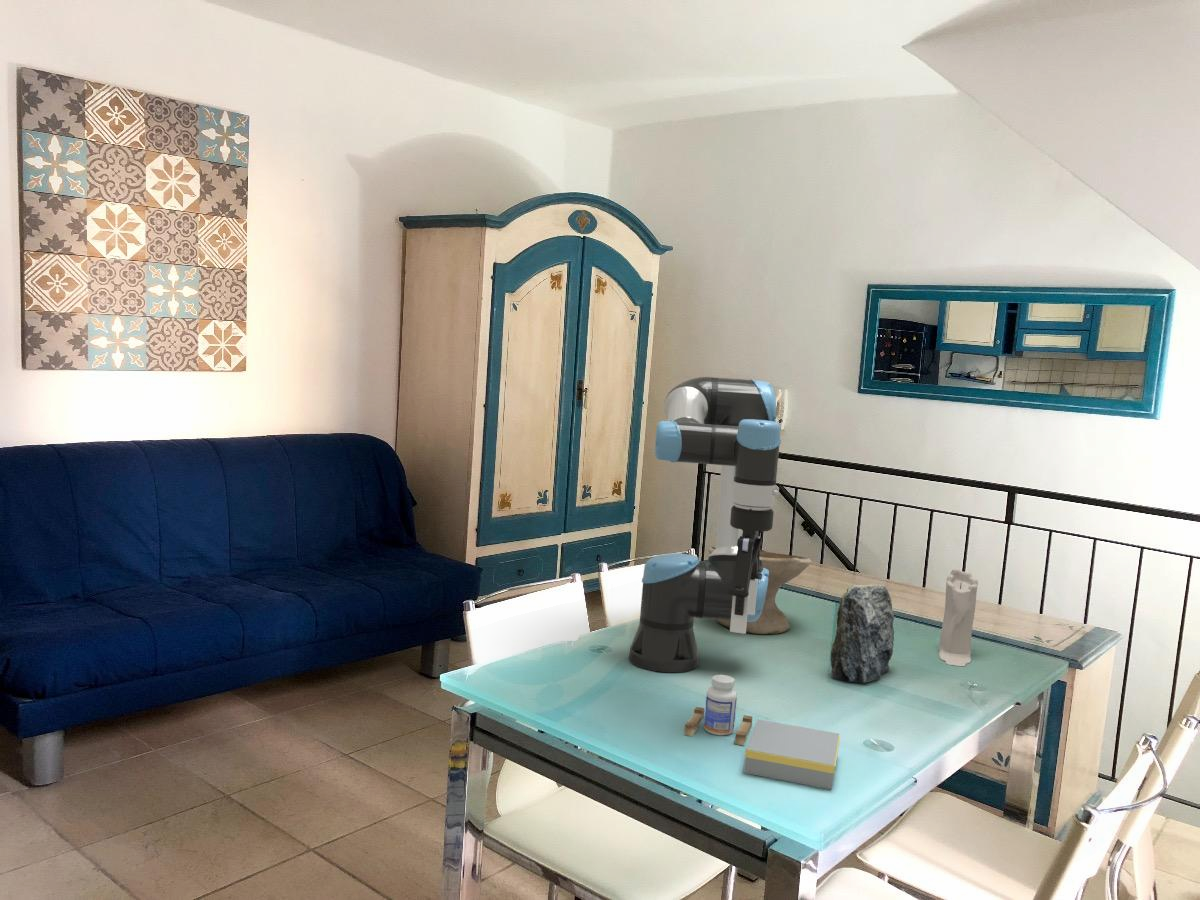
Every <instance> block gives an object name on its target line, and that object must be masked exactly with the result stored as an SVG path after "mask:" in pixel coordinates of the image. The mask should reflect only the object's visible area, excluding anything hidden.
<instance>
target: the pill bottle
mask: <svg viewBox="0 0 1200 900" xmlns="http://www.w3.org/2000/svg"><path fill="white" fill-rule="evenodd" d="M710 683H711V686H710V687H708V689H707V691H706V698H705V699H706V700H705V708H704V722H703V727H704V728H703V729H704V730H705V731H706V732H708V733H710V734H712V735H716V736H729V735H731V734H733V732H734V730H735V722H736V720H735V719H736V710H737V709H736V708H737V700H738V699H737V697H738V695H737V692H736V690H734V687H735V678H734V677H732V676H730V675H726V674H716V675H713V676H712V678H711V681H710Z"/></svg>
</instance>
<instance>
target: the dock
mask: <svg viewBox="0 0 1200 900" xmlns="http://www.w3.org/2000/svg"><path fill="white" fill-rule="evenodd" d="M840 738H841V734H840V733H838V732H832V731H828V730H827V731H826V730H821V729H815V728H809V727H803V726H800V725H799V726H798V725H792V724H787V723H780V722H775V721H768V720H763V719H759V718H758V719H757V721H756V723H755V726H754V728H753V731H752V733H751V736H750V737H749V741H748V743H747V747H746V749H745V753H744V758H745V759H744V770H743V773H744V774H749V775H754V776H759V777H764V778H769V779H775V780H781V781H786V782H791V783H797V784H802V785H805V786H811V787H817V788H822V789H827V790H833V783H834V777H835V771H836V766H837V765H836V764H837V759H838V752H839V746H840Z"/></svg>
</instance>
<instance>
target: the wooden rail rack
mask: <svg viewBox="0 0 1200 900" xmlns="http://www.w3.org/2000/svg"><path fill="white" fill-rule="evenodd" d="M704 718H705V708H704V707H700V706H695V707H694V709H693V714H692V715H691V716H690V719H689V720H688V721H686V722H685V726H684V731H683V732H684V733H683V734H684V735H683V736H687V737H688V736H689V737H694V736H695V733H696V732H697V730H698V728H699V727H700V725H701V722H702V721H703V719H704ZM752 726H753V716H751V715H746V714H744V715H742V720H741V723H740V726H739V728H738V730H736V732H735V738H734V745H738V746H745V744H746V741H747V738H748V736H749V734H750V732H751V729H752Z"/></svg>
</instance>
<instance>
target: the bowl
mask: <svg viewBox="0 0 1200 900" xmlns="http://www.w3.org/2000/svg"><path fill="white" fill-rule="evenodd" d="M715 549H716V547H714V546H711V547H710V546H709V548H708V552H709V553H708V554H709V555H710V554H711V553H712V552H713V551H715ZM760 558H761V559H762V568H766V569H768V571H769V577H768V586H767V592H766V597H765V601H764V606H763V609H762V613H761V615H760V617H759V618H758V619H757V620H756V621H754V622H747V625H746V633H748V634H758V635H770V634H775V635H776V634H783V633H785V632H787V631H788V630H789V629H790V628H791V627H790V623H789V620H788V617H787V616H786V615H785V613H784V612H783V611H782V610H781V609H780V608H778V606H777V603H776V596H777V593H778V591H779V589H780V588H781V586H783V585H785V584H786V583H789V582H790V581H792V580H793V579H795V578H796V577H798V576H799V575H801V573H803V572H804V571H805V570H806V569H807V568H808V567H809V566H810V565H812V564H811V563H812V560H811V559H810V558H809V557H804V556H798V555H792V554H791V555H789V554H783V553H777V552H776V553H775V552H769V551H764V550H761V551H760ZM716 621H717V623H718V624H720V625H721V626H723V627H725V628H727V629H730V623H731V621H730V620H719V619H716Z"/></svg>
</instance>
